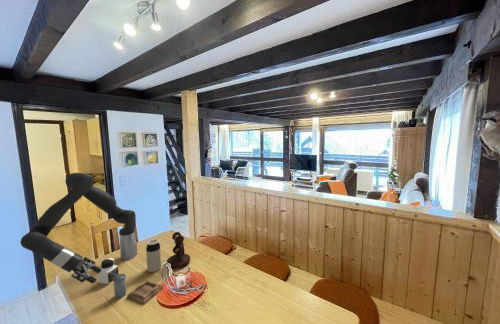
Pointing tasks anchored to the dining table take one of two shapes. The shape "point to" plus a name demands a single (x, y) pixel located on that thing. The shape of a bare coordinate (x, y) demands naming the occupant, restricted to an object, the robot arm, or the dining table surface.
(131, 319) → the dining table surface
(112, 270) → the medicine bottle
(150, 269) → the travel mug
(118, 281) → the blue-grey dome-topped cylinder
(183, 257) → the scroll
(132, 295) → the walnut socket
